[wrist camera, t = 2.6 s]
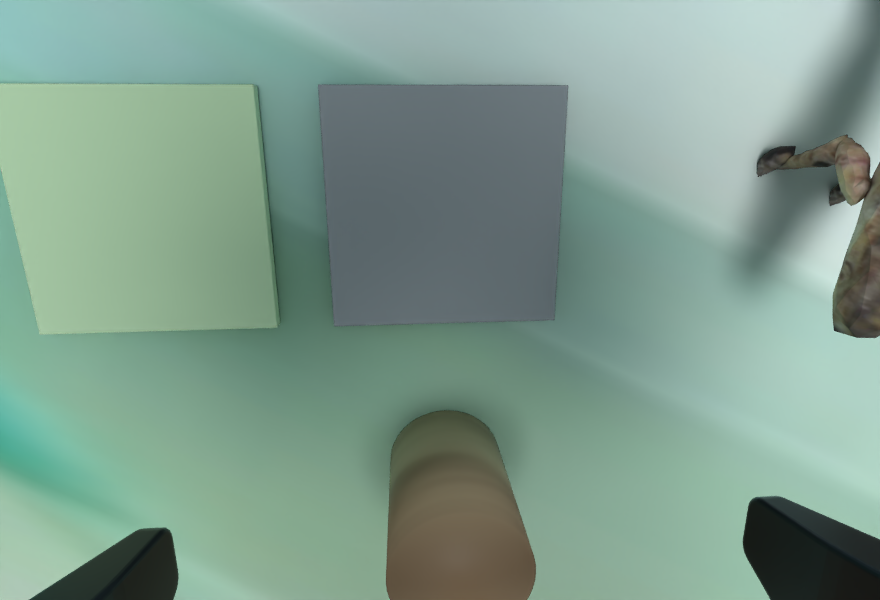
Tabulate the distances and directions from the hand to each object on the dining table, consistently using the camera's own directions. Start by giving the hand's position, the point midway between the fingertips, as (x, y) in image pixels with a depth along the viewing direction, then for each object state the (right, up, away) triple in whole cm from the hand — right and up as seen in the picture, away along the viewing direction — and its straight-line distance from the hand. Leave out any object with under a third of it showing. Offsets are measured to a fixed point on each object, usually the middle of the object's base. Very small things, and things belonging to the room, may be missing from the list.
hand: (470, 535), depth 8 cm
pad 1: (-10, +7, +9) cm, 15 cm away
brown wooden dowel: (0, -3, +13) cm, 13 cm away
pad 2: (0, +7, +10) cm, 12 cm away
